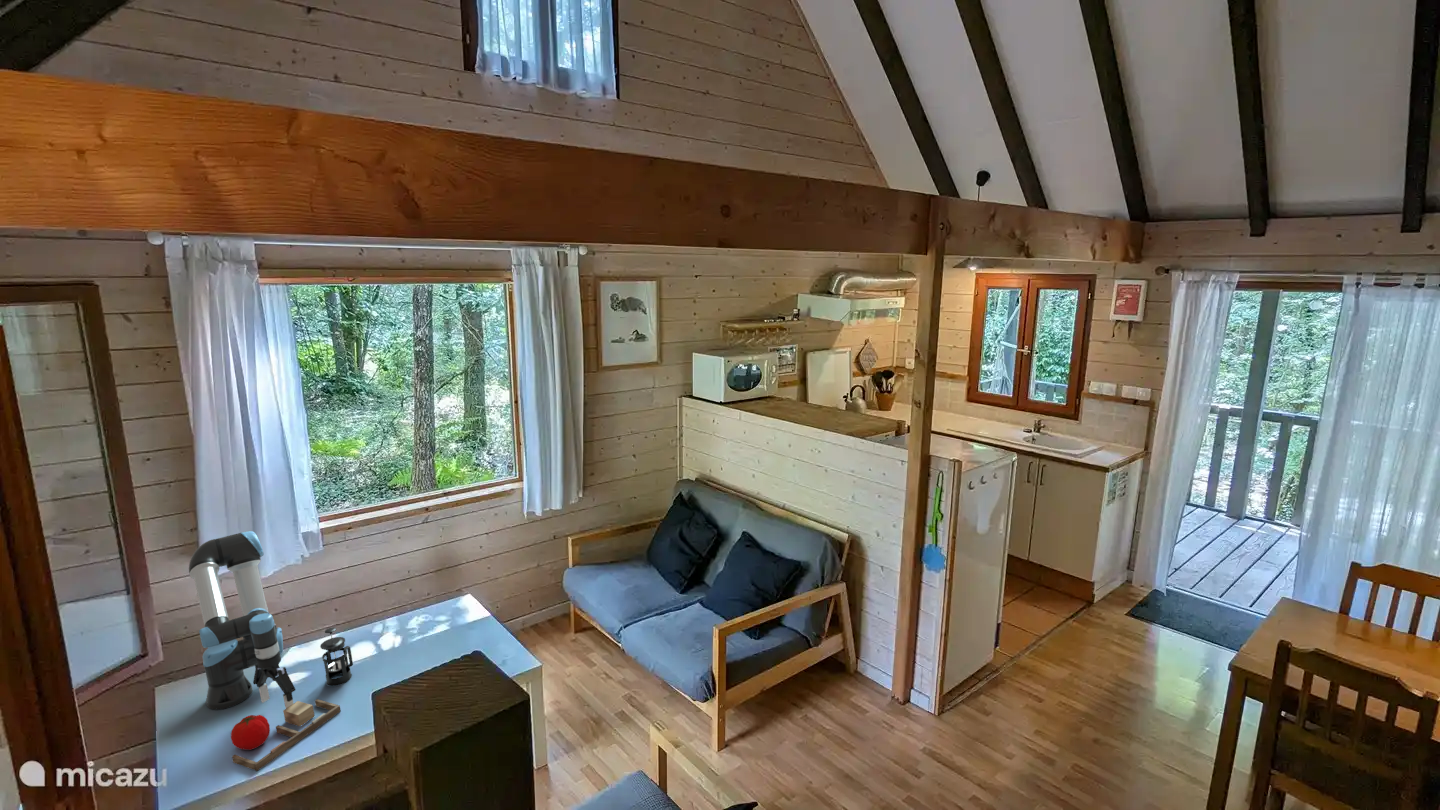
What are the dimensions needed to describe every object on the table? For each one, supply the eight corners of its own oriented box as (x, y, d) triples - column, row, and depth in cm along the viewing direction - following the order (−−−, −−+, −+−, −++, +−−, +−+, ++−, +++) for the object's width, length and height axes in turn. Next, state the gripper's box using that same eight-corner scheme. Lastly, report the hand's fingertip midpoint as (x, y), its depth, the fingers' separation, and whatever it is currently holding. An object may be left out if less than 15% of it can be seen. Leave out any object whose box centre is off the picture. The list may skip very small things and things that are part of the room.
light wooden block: (285, 722, 258) (283, 710, 257) (300, 712, 263) (297, 700, 262) (300, 726, 255) (298, 715, 254) (314, 716, 260) (312, 705, 259)
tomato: (276, 743, 246) (271, 716, 244) (239, 761, 238) (233, 733, 235) (265, 729, 254) (260, 703, 252) (229, 746, 245) (223, 719, 243)
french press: (334, 689, 277) (325, 638, 272) (319, 684, 281) (310, 633, 276) (360, 673, 287) (352, 623, 282) (345, 668, 291) (337, 619, 286)
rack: (233, 762, 237) (231, 754, 237) (318, 704, 267) (316, 697, 267) (257, 771, 233) (255, 763, 232) (340, 711, 263) (339, 704, 262)
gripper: (235, 654, 259) (246, 703, 263) (281, 665, 250) (291, 717, 254) (255, 643, 266) (265, 692, 270) (300, 654, 257) (309, 704, 261)
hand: (277, 704), depth 262 cm, fingers open, 13 cm apart
